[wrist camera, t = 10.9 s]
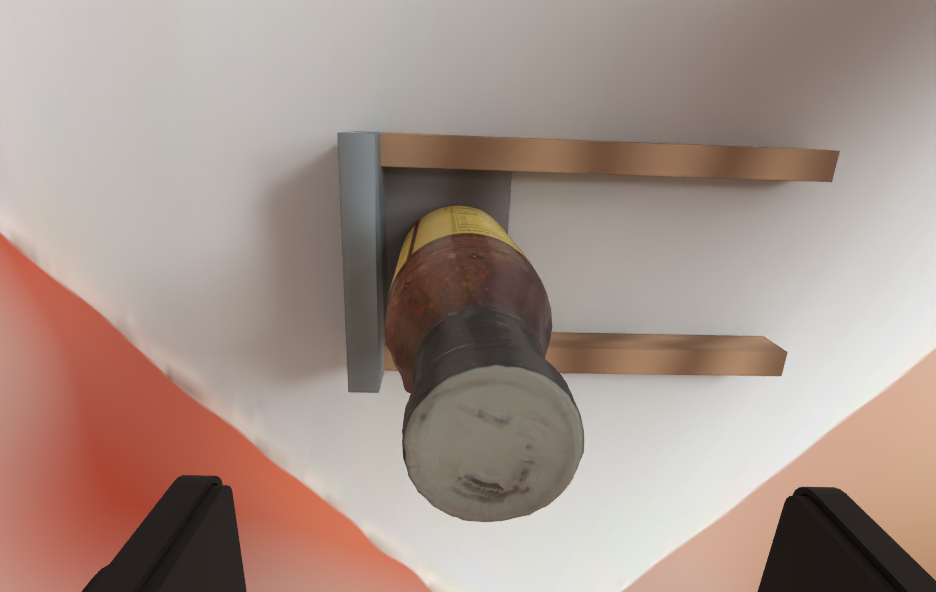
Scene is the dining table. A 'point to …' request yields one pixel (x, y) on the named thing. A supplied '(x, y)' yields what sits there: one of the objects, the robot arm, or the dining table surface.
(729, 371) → the wooden u-shaped frame
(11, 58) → the dining table surface
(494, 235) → the sauce bottle
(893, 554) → the robot arm
